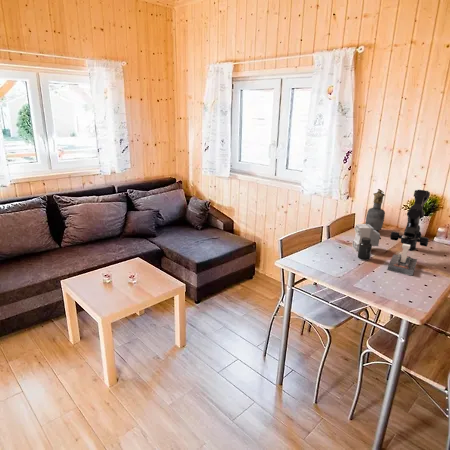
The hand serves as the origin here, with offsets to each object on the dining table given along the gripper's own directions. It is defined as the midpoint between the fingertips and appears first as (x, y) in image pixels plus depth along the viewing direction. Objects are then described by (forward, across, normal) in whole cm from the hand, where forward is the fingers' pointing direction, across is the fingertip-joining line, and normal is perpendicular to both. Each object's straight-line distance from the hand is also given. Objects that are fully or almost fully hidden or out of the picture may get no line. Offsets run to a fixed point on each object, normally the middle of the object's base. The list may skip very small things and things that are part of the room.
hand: (405, 252), depth 190 cm
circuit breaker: (-2, -22, +13) cm, 25 cm away
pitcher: (-29, -25, +40) cm, 56 cm away
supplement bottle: (+8, -20, +2) cm, 22 cm away
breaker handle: (+6, 0, 0) cm, 6 cm away
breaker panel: (+8, 0, +2) cm, 9 cm away
